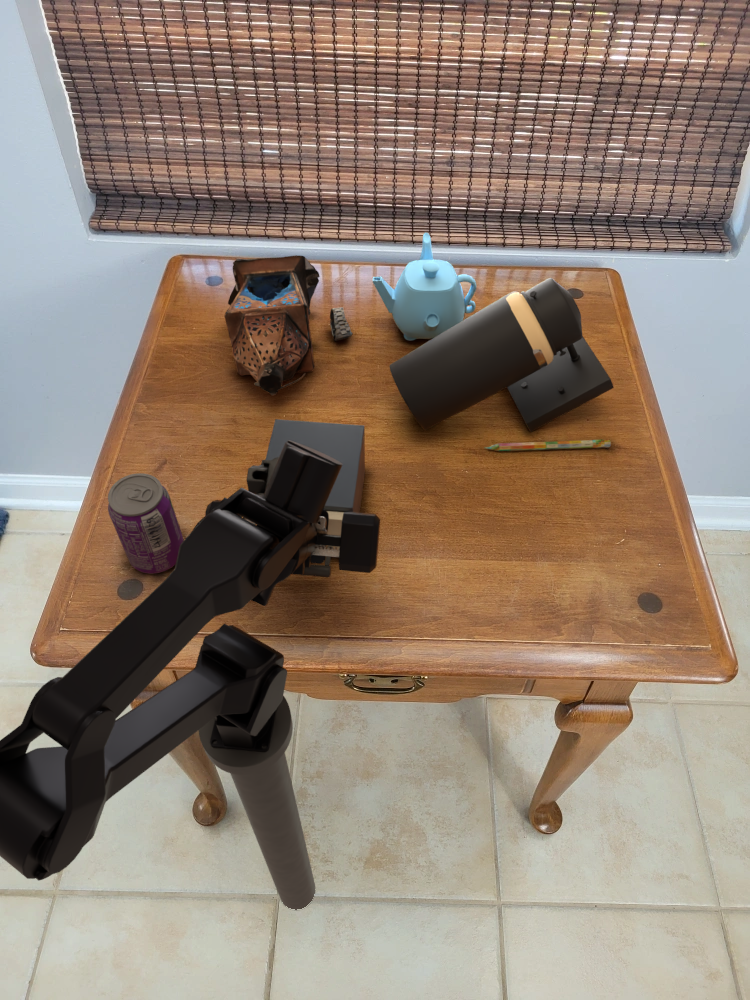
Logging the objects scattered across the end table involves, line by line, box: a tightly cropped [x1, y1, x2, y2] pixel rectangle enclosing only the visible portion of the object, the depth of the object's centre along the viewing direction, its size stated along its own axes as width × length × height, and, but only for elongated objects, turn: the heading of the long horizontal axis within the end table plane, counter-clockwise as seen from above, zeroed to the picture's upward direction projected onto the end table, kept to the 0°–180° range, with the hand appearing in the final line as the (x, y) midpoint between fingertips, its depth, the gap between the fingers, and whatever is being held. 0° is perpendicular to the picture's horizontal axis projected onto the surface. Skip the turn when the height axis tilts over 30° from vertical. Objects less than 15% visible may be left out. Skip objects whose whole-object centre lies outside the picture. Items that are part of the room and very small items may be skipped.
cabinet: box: [264, 418, 366, 513], centre depth 98 cm, size 14×12×10 cm
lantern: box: [223, 255, 321, 396], centre depth 116 cm, size 16×16×25 cm
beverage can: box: [107, 472, 185, 574], centre depth 93 cm, size 7×7×12 cm
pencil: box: [483, 438, 612, 452], centre depth 109 cm, size 1×1×18 cm
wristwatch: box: [329, 306, 353, 342], centre depth 123 cm, size 3×5×5 cm
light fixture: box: [388, 277, 615, 433], centre depth 108 cm, size 13×18×26 cm
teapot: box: [372, 232, 477, 342], centre depth 122 cm, size 15×14×11 cm
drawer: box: [292, 510, 346, 578], centre depth 96 cm, size 17×10×8 cm, turn 175°
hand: (304, 526), depth 91 cm, fingers closed, pressing on drawer
